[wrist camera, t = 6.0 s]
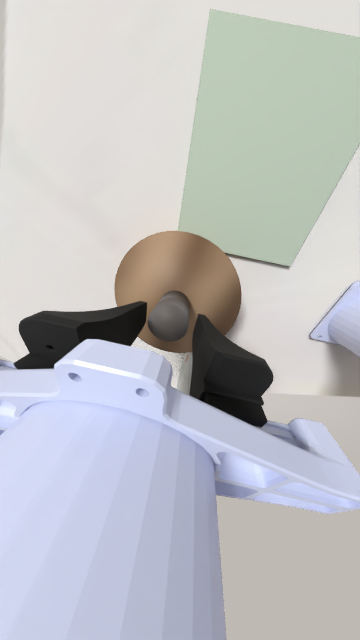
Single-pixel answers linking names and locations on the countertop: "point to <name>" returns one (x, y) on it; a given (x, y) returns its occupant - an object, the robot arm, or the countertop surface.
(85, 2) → the countertop surface
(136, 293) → the lid
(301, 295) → the countertop surface
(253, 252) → the mat
